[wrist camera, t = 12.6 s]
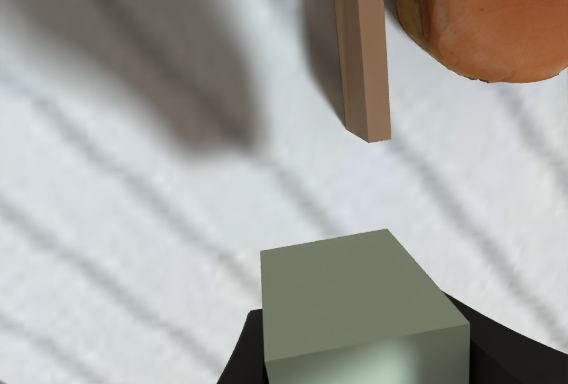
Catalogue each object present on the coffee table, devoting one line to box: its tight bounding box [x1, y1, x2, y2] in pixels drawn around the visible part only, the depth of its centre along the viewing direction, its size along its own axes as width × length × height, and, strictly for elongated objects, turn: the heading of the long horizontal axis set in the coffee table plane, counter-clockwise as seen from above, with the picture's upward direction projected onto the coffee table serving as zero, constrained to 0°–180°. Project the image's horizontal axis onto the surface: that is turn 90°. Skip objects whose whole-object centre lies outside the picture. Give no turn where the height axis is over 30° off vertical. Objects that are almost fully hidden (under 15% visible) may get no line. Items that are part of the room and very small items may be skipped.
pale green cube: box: [260, 229, 470, 384], centre depth 11 cm, size 4×4×5 cm
